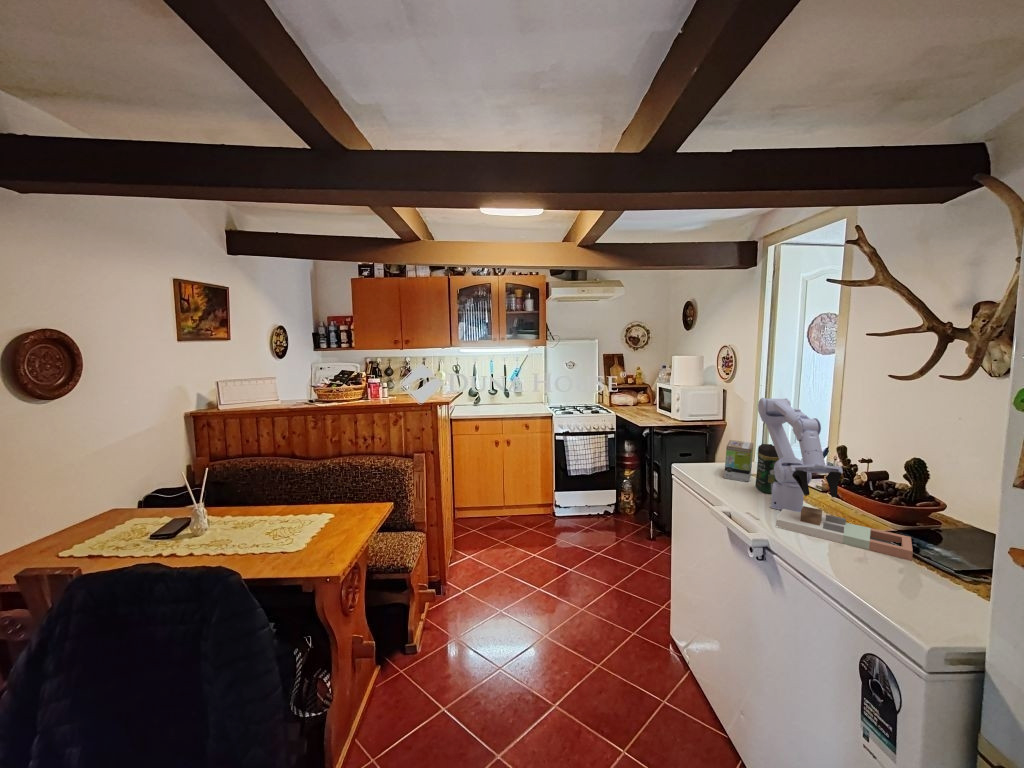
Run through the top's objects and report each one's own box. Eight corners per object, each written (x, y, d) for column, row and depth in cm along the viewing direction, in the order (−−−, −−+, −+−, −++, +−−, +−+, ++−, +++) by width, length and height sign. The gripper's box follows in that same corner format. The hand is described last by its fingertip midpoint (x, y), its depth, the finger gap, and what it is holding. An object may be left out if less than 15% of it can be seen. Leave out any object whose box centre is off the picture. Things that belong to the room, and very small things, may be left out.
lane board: (775, 526, 137) (776, 513, 137) (782, 515, 146) (783, 503, 146) (911, 560, 116) (913, 545, 116) (909, 545, 125) (911, 531, 125)
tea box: (749, 482, 181) (751, 448, 180) (723, 478, 187) (725, 445, 185) (751, 473, 194) (753, 441, 193) (727, 470, 199) (728, 439, 198)
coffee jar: (752, 486, 177) (755, 442, 175) (772, 487, 176) (775, 442, 174) (762, 494, 167) (765, 447, 165) (784, 495, 166) (787, 448, 164)
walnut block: (800, 521, 135) (801, 510, 135) (802, 516, 139) (803, 506, 139) (819, 525, 132) (820, 514, 132) (821, 520, 136) (822, 510, 136)
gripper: (792, 449, 137) (800, 492, 131) (843, 450, 134) (854, 494, 128) (783, 455, 143) (791, 496, 137) (832, 457, 140) (842, 499, 134)
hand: (820, 495), depth 133 cm, fingers open, 7 cm apart
